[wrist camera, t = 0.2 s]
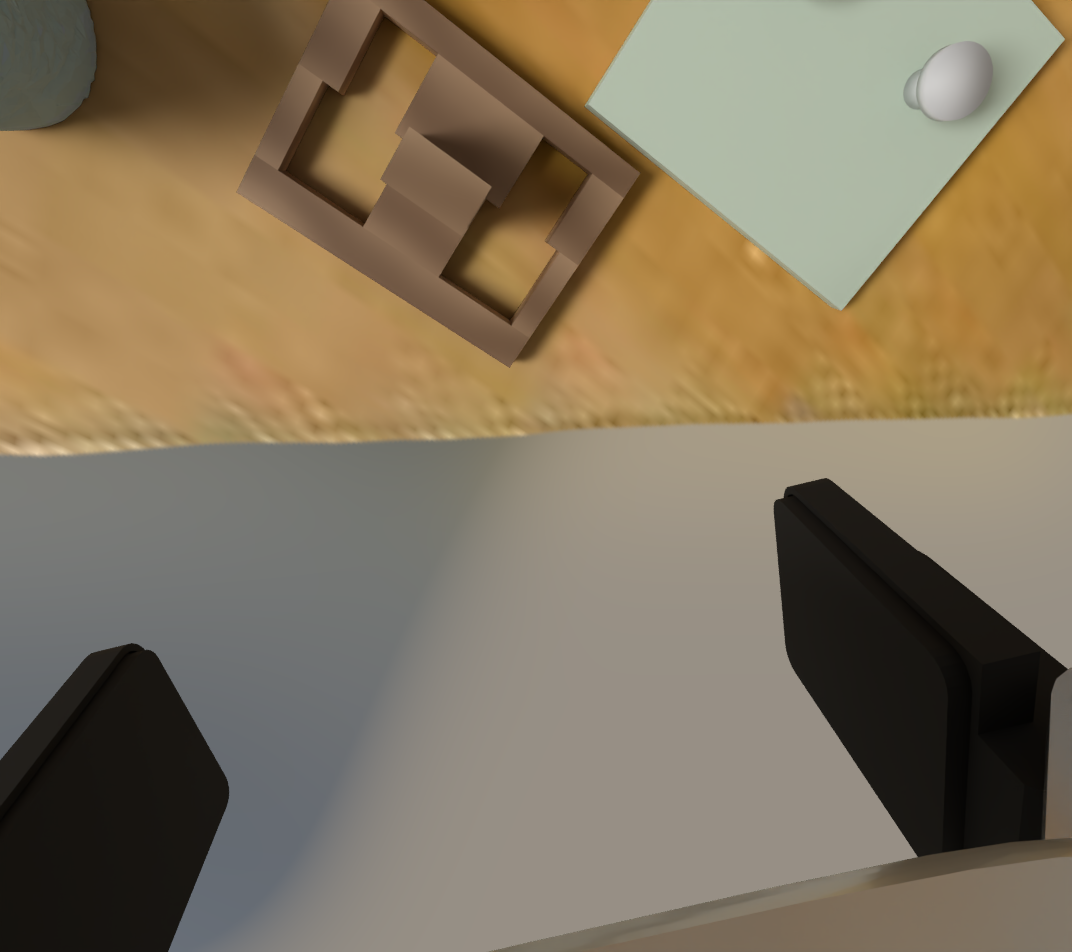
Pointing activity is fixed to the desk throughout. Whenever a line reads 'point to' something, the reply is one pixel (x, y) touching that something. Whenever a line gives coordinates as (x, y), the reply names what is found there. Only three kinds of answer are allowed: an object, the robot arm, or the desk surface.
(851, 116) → the board
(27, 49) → the blue-grey cup
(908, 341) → the desk surface
